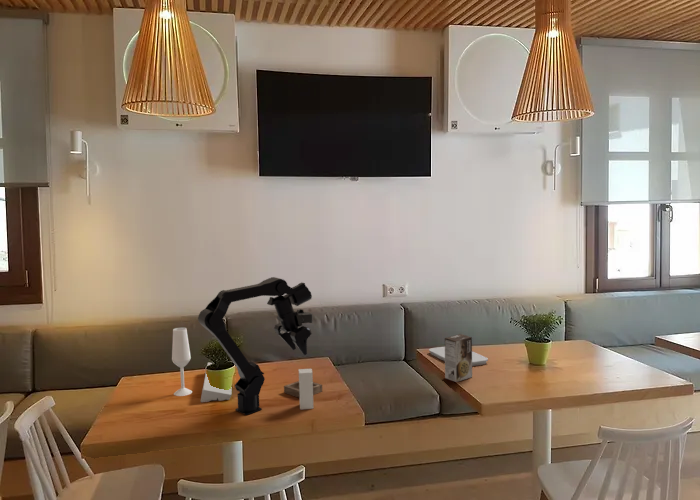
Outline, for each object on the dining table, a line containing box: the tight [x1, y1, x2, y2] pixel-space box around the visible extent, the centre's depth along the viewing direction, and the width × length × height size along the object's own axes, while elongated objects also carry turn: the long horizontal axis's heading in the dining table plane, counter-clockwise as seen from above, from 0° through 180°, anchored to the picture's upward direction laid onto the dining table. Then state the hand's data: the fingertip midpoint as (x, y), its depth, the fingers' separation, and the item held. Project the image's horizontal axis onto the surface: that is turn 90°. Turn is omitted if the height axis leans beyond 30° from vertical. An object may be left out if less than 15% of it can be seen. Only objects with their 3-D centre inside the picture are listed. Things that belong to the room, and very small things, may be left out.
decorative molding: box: [200, 362, 233, 403], centre depth 217 cm, size 34×5×10 cm
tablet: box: [428, 345, 489, 367], centre depth 246 cm, size 16×26×2 cm, turn 21°
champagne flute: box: [171, 327, 193, 397], centre depth 208 cm, size 7×7×24 cm
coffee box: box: [444, 333, 473, 383], centre depth 219 cm, size 9×6×16 cm
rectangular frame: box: [283, 380, 323, 399], centre depth 207 cm, size 10×10×2 cm
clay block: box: [298, 368, 314, 410], centre depth 192 cm, size 4×4×12 cm
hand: (299, 351), depth 199 cm, fingers open, 9 cm apart
